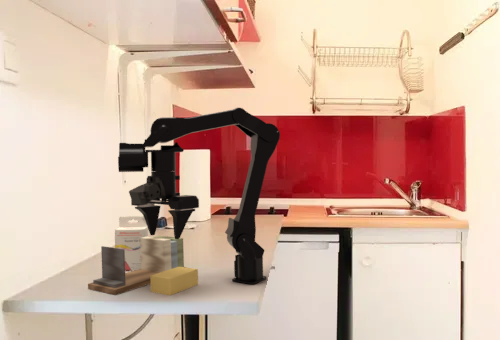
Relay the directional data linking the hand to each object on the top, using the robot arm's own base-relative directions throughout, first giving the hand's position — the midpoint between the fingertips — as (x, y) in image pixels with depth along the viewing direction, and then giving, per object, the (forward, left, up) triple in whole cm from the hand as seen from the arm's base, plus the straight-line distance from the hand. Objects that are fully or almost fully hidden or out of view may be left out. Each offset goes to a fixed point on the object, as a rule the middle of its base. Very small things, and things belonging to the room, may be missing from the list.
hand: (164, 237), depth 105 cm
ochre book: (-2, -1, -13) cm, 13 cm away
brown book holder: (+11, -2, -12) cm, 17 cm away
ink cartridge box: (+22, -9, -12) cm, 27 cm away
